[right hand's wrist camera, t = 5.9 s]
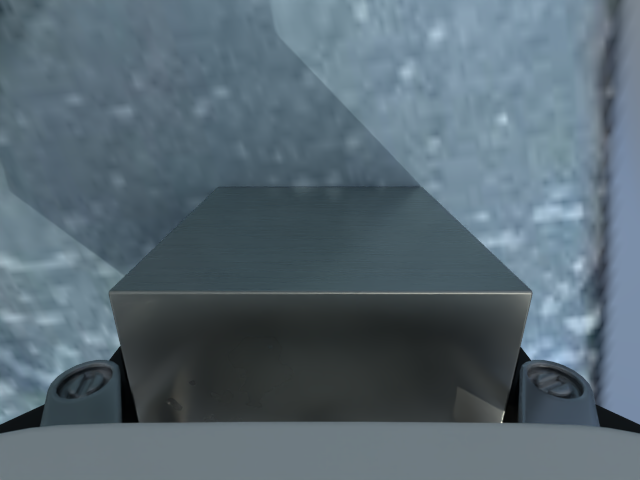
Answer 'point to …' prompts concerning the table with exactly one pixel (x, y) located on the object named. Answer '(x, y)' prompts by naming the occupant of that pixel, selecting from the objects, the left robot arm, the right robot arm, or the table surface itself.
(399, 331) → the block
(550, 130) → the table surface
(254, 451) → the right robot arm
